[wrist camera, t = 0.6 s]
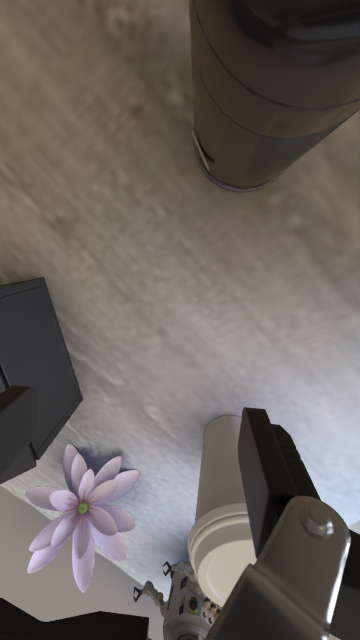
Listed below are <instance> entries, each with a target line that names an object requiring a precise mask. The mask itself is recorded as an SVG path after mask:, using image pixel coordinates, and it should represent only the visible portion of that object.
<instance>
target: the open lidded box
mask: <svg viewBox="0 0 360 640" xmlns="http://www.w3.org/2000/svg"><path fill="white" fill-rule="evenodd" d="M0 373H1V376H2V378H3V381H4V383H5V386H6V388H9V387H10V386H12V385H17V386H28V387H34V388H35V390H36V394H37V404H38V414H39V427H38V431H37V433H36V435H35V437H34V439H33V440H32V441H31V442H30V443H29V445H30V448H31V450H32V453H33V455H34V458H35V460H39V459H40V458H41V456H42V455H43V454H44V452H45V451H46V450H47V448H48V447H49V445H50V444H51V443H52V441H53V440H54V439H55V437H56V436H57V434H58V433H59V432H60V430H61V429H62V428H63V426H64V425H65V423H66V422H67V421H68V419H69V418H70V417H71V415H72V414H73V412H74V411H75V410H76V408H77V407H78V406H79V404H80V403H81V401H82V400H83V398H82V395H81V392H80V389H79V386H78V383H77V380H76V377H75V374H74V370H73V367H72V364H71V361H70V358H69V355H68V352H67V349H66V346H65V342H64V339H63V336H62V333H61V330H60V327H59V324H58V321H57V317H56V314H55V311H54V308H53V305H52V302H51V299H50V296H49V293H48V289H47V286H46V283H45V280H44V278H38V279H33V280H27V281H22V282H17V283H11V284H6V285H1V286H0Z"/></svg>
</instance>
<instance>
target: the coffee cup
mask: <svg viewBox="0 0 360 640" xmlns="http://www.w3.org/2000/svg"><path fill="white" fill-rule="evenodd" d="M241 419H242V418H241V417H238V416H233V415H226V416H221V417H218V418H216V419H214V420H213V421H211V422H210V423H209V424H208V425H207V427H206V429H205V431H204V438H203V448H202V458H201V468H200V479H199V489H198V498H197V508H196V518H195V524H194V526H193V527H192V529H191V531H190V533H189V536H188V541H187V548H188V553H189V558H190V562H191V565H192V568H193V570H194V572H195V574H196V576H197V578H198V582H199V585H200V587H201V589H202V591H203V592H204V594H205V595H206V596H207V597H208V598H209V599H210V600H211V601H213V602H214V603H216V604H217V605H219V606H221V607H223V606H224V604H225V602H226V600H227V598H228V597H229V595H230V593H231V591H232V590H233V588H234V586H235V584H236V583H237V581H238V579H239V577H240V576H241V574H242V572H243V571H244V569H245V568H246V566H247V565H248V564H250V563H251V564H252V565H254V564H255V562H256V561H257V559H256V556H255V551H254V545H253V539H252V534H251V528H250V523H249V517H248V512H247V506H246V500H245V495H244V489H243V484H242V478H241V473H240V467H239V461H238V439H239V432H240V426H241Z"/></svg>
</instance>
